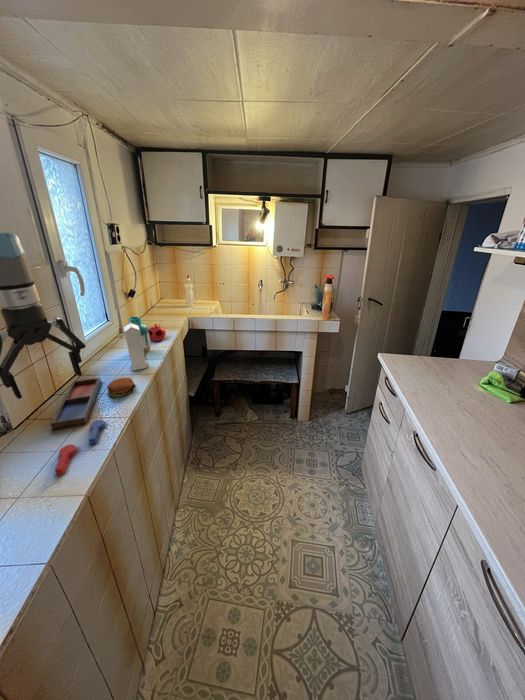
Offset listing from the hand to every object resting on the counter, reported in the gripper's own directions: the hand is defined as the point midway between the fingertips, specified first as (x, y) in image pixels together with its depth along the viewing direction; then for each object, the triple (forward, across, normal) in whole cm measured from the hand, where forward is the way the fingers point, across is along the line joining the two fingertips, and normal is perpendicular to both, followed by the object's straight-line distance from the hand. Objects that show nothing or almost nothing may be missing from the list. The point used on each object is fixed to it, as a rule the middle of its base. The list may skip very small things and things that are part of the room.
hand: (50, 384), depth 73 cm
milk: (+23, +41, +32) cm, 57 cm away
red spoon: (+23, -3, -2) cm, 23 cm away
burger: (+23, +25, +19) cm, 39 cm away
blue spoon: (+23, +7, +2) cm, 24 cm away
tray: (+23, +12, +24) cm, 35 cm away
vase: (+23, +50, +45) cm, 71 cm away
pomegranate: (+23, +66, +55) cm, 89 cm away
